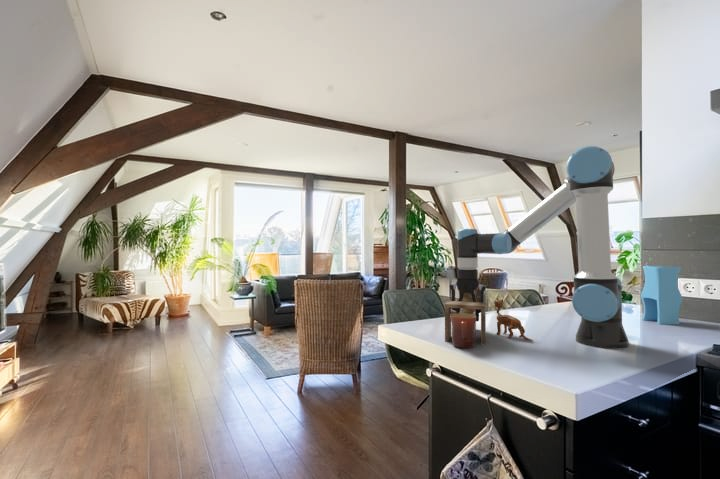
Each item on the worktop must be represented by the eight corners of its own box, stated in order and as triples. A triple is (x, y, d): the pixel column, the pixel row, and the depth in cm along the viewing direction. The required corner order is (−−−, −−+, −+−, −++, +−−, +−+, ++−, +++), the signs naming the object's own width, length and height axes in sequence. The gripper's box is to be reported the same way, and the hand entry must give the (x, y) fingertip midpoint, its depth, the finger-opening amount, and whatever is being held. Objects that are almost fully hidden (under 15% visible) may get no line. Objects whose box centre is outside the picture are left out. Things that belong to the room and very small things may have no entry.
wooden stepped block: (475, 329, 148) (475, 279, 149) (470, 344, 125) (470, 285, 125) (463, 328, 150) (463, 279, 150) (457, 342, 127) (457, 285, 127)
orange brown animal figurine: (539, 343, 126) (539, 304, 127) (525, 345, 124) (525, 305, 124) (501, 332, 143) (501, 297, 143) (488, 333, 141) (488, 298, 141)
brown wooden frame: (485, 339, 132) (485, 302, 132) (484, 344, 124) (484, 306, 124) (447, 336, 136) (447, 300, 137) (444, 341, 129) (444, 303, 129)
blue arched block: (682, 326, 152) (681, 267, 153) (659, 326, 152) (658, 267, 153) (663, 322, 162) (662, 266, 163) (641, 321, 162) (640, 265, 163)
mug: (449, 342, 128) (449, 312, 128) (475, 343, 126) (475, 314, 126) (450, 351, 116) (450, 319, 116) (478, 353, 114) (478, 320, 114)
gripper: (491, 268, 141) (492, 328, 141) (445, 267, 147) (445, 325, 147) (491, 269, 134) (491, 333, 134) (443, 268, 140) (443, 329, 140)
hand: (467, 329), depth 140 cm, fingers closed on wooden stepped block, 4 cm apart
